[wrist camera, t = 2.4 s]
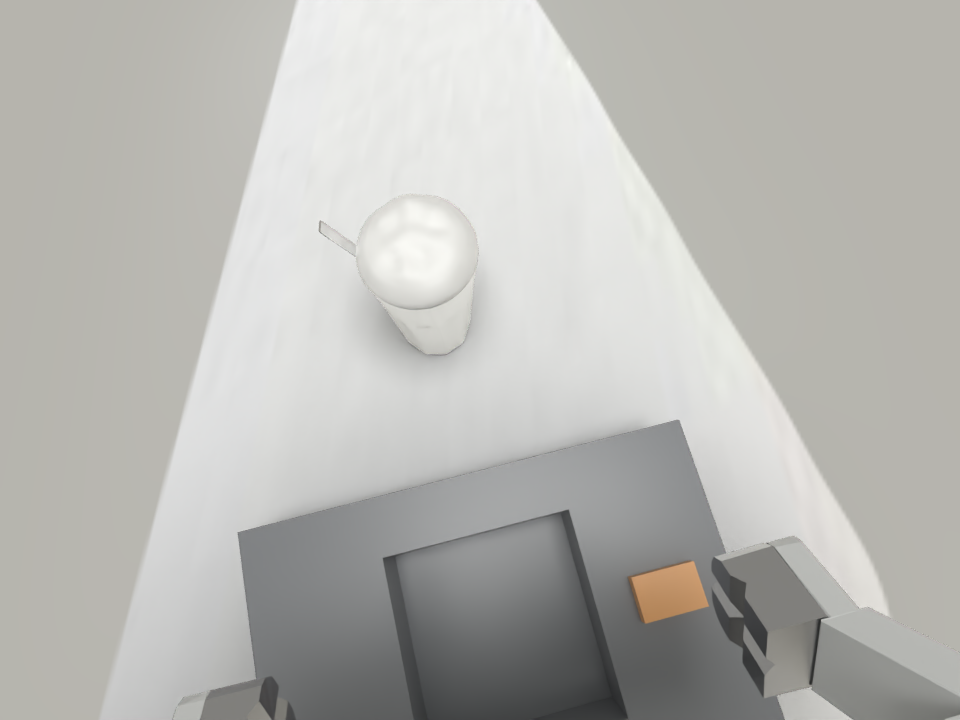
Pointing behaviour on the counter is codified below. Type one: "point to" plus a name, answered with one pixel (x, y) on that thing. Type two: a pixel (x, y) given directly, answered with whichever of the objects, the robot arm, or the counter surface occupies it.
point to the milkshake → (419, 267)
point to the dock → (506, 596)
